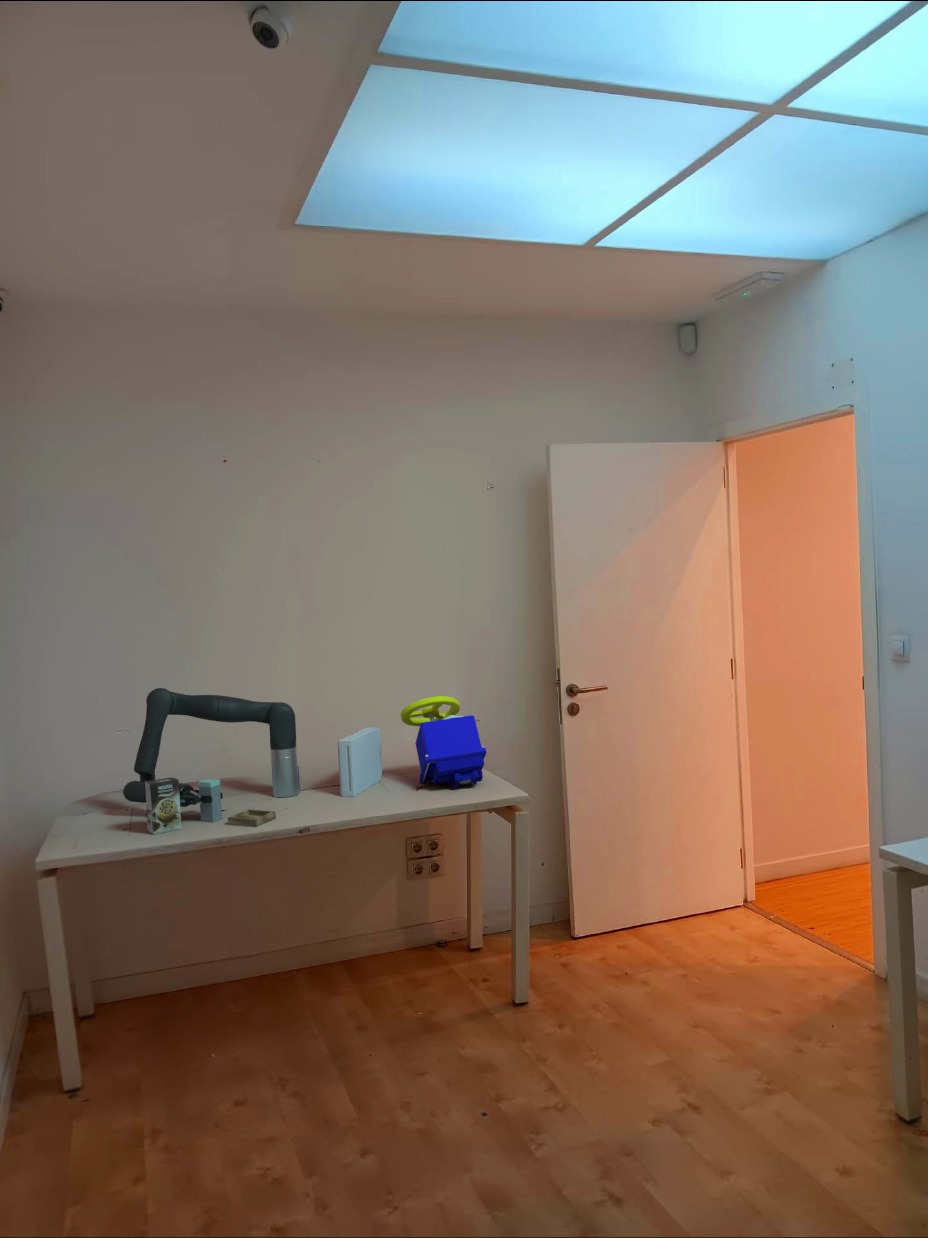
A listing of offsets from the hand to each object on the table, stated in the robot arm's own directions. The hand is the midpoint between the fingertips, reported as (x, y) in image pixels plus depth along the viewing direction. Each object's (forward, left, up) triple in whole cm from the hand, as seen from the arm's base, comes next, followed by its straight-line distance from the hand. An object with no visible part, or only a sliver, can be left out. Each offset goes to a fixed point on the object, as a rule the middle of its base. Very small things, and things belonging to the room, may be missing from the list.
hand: (216, 797), depth 307 cm
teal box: (0, -3, -7) cm, 8 cm away
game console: (-52, +23, -8) cm, 57 cm away
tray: (-2, +12, -7) cm, 15 cm away
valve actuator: (-64, +51, -8) cm, 83 cm away
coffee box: (+14, -10, -8) cm, 19 cm away
